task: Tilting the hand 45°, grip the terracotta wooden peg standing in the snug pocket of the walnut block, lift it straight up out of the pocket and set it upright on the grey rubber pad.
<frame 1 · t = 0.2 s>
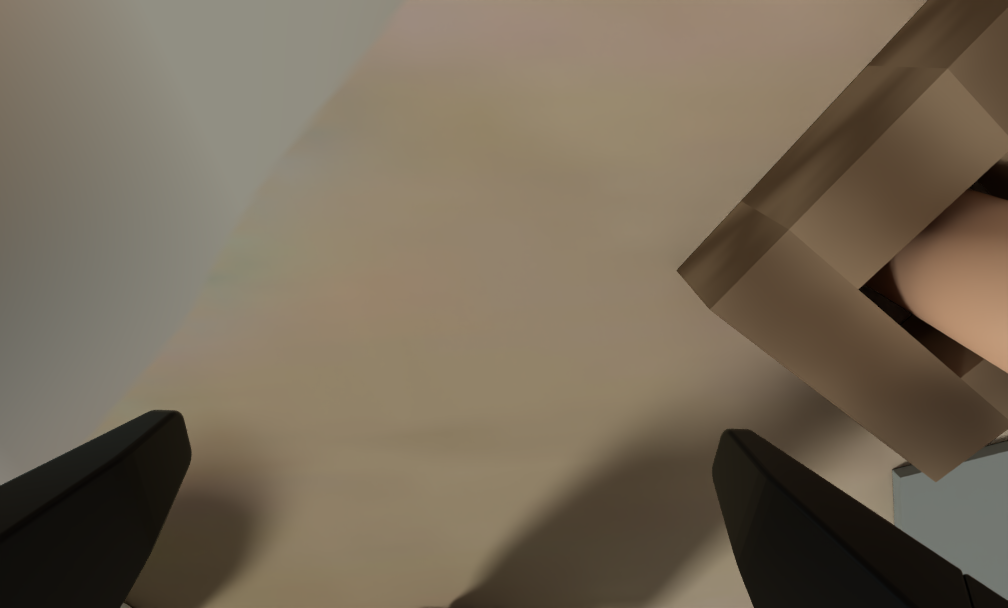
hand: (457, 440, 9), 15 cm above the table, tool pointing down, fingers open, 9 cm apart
pocket block: (909, 238, 24), on the table
pad: (1007, 522, 31), on the table
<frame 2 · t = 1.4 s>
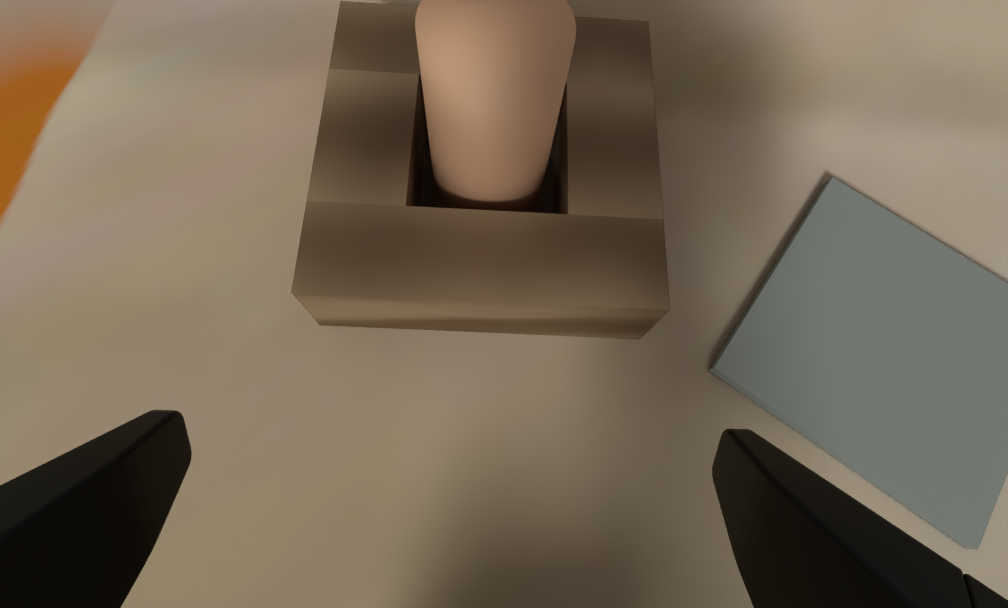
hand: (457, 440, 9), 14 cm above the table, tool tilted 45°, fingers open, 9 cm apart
pocket block: (487, 192, 27), on the table
pad: (887, 345, 25), on the table
peg: (491, 126, 22), in the pocket block
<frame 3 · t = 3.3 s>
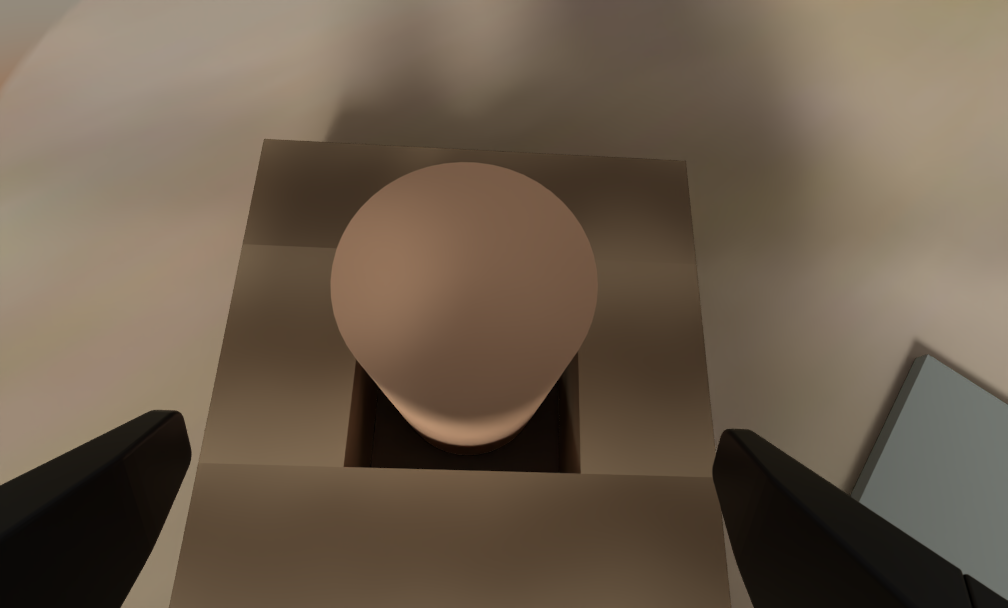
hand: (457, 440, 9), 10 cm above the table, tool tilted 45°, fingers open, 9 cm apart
pocket block: (469, 382, 20), on the table
peg: (468, 346, 15), in the pocket block
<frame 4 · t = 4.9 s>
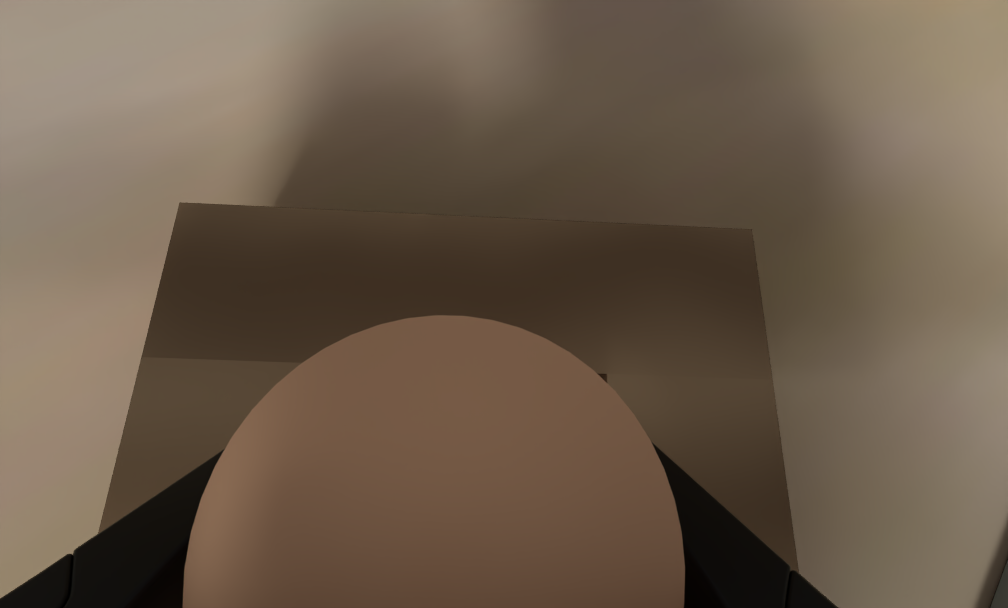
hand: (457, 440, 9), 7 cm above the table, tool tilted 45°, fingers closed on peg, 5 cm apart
pocket block: (460, 516, 15), on the table
peg: (455, 525, 10), in the pocket block, touching gripper
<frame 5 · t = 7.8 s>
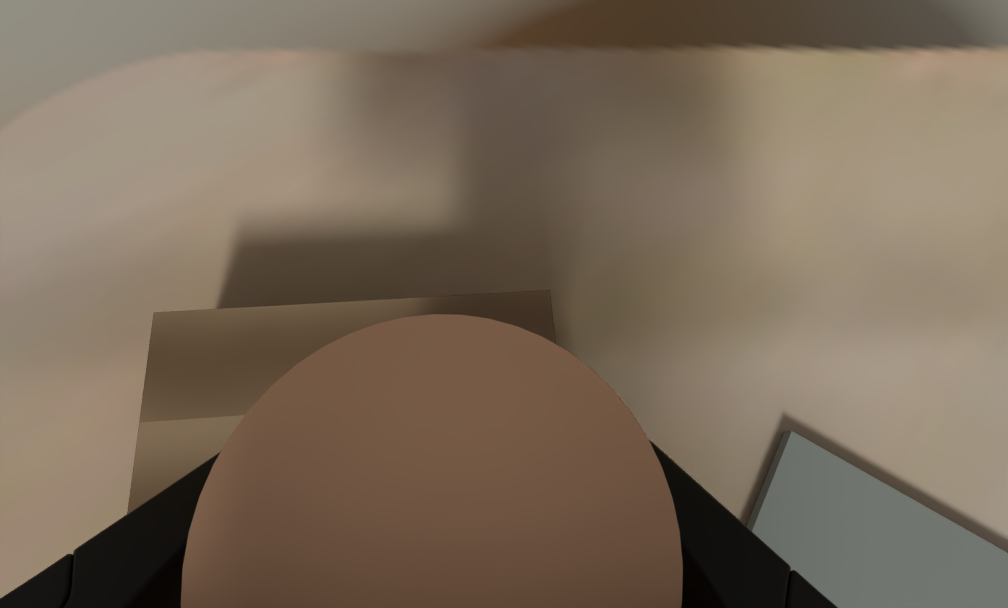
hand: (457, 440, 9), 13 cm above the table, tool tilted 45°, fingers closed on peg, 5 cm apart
pocket block: (376, 505, 21), on the table
peg: (454, 524, 10), point 12 cm above the table, touching gripper
when the fingers open (8 cm above the table, at t = 10.7 s): peg drops 1 cm, resting on pad.
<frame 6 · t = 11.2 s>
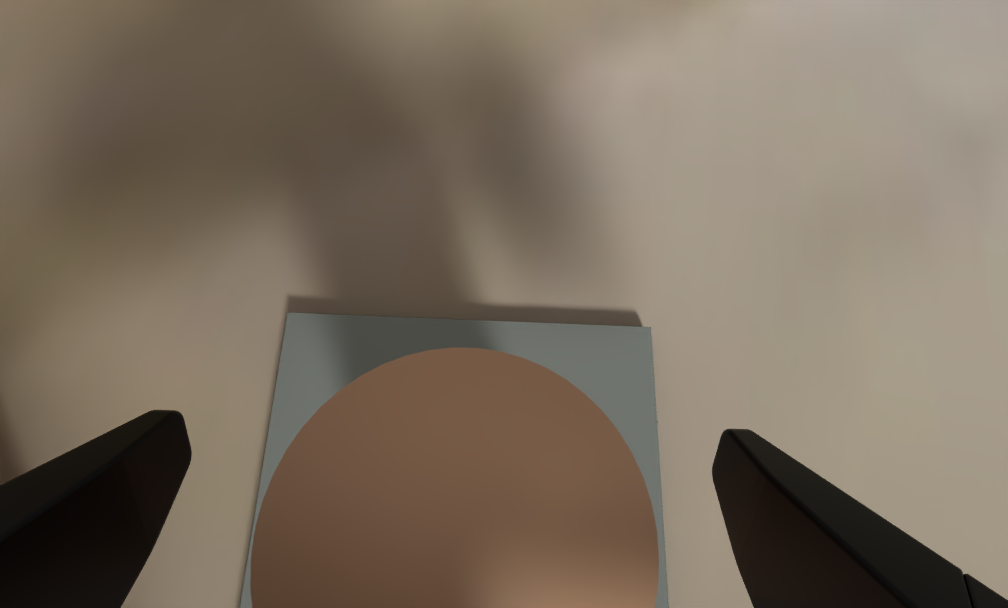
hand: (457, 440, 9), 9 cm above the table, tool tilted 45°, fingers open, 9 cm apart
pad: (462, 513, 17), on the table
peg: (461, 523, 12), on the pad, point 6 cm above the table
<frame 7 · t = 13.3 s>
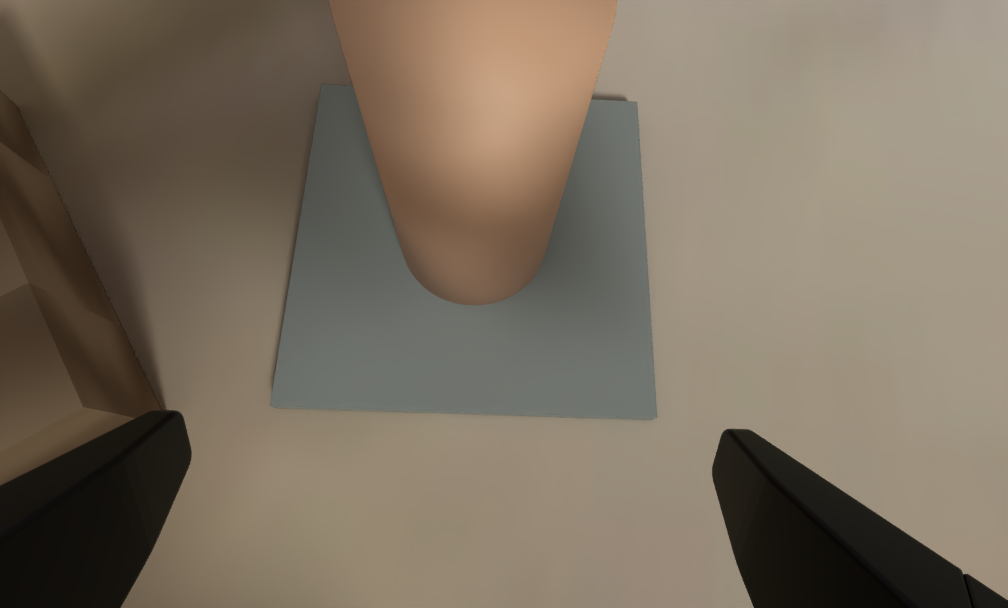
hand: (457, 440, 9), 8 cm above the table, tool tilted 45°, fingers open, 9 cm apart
pad: (474, 243, 20), on the table
peg: (474, 152, 14), on the pad, point 6 cm above the table
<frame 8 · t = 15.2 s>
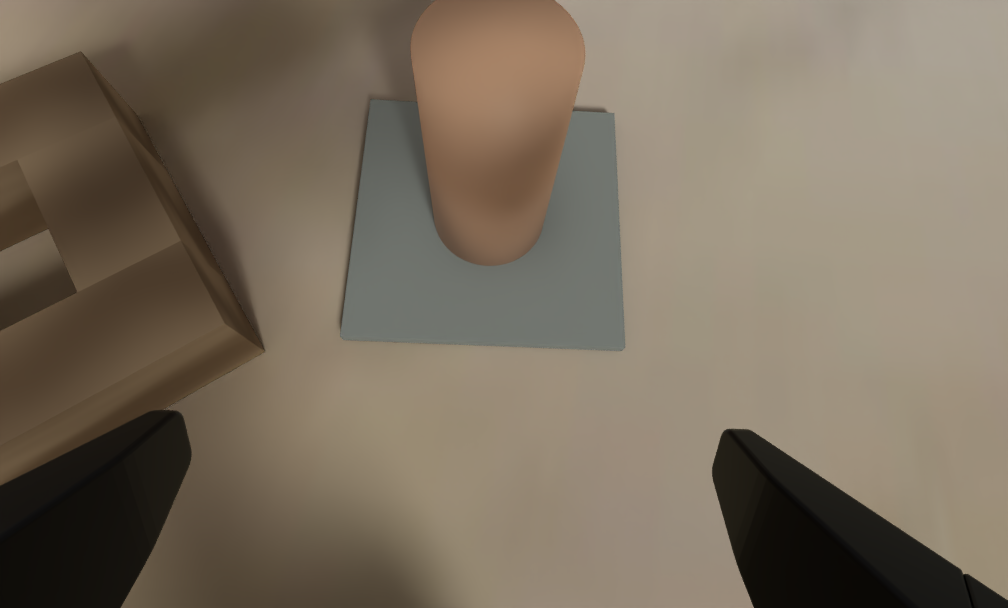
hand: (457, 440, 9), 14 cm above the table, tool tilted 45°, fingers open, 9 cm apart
pocket block: (38, 303, 23), on the table
pad: (488, 220, 26), on the table
peg: (492, 150, 21), on the pad, point 6 cm above the table
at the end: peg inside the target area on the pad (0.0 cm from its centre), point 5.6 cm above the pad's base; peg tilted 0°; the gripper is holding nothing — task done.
